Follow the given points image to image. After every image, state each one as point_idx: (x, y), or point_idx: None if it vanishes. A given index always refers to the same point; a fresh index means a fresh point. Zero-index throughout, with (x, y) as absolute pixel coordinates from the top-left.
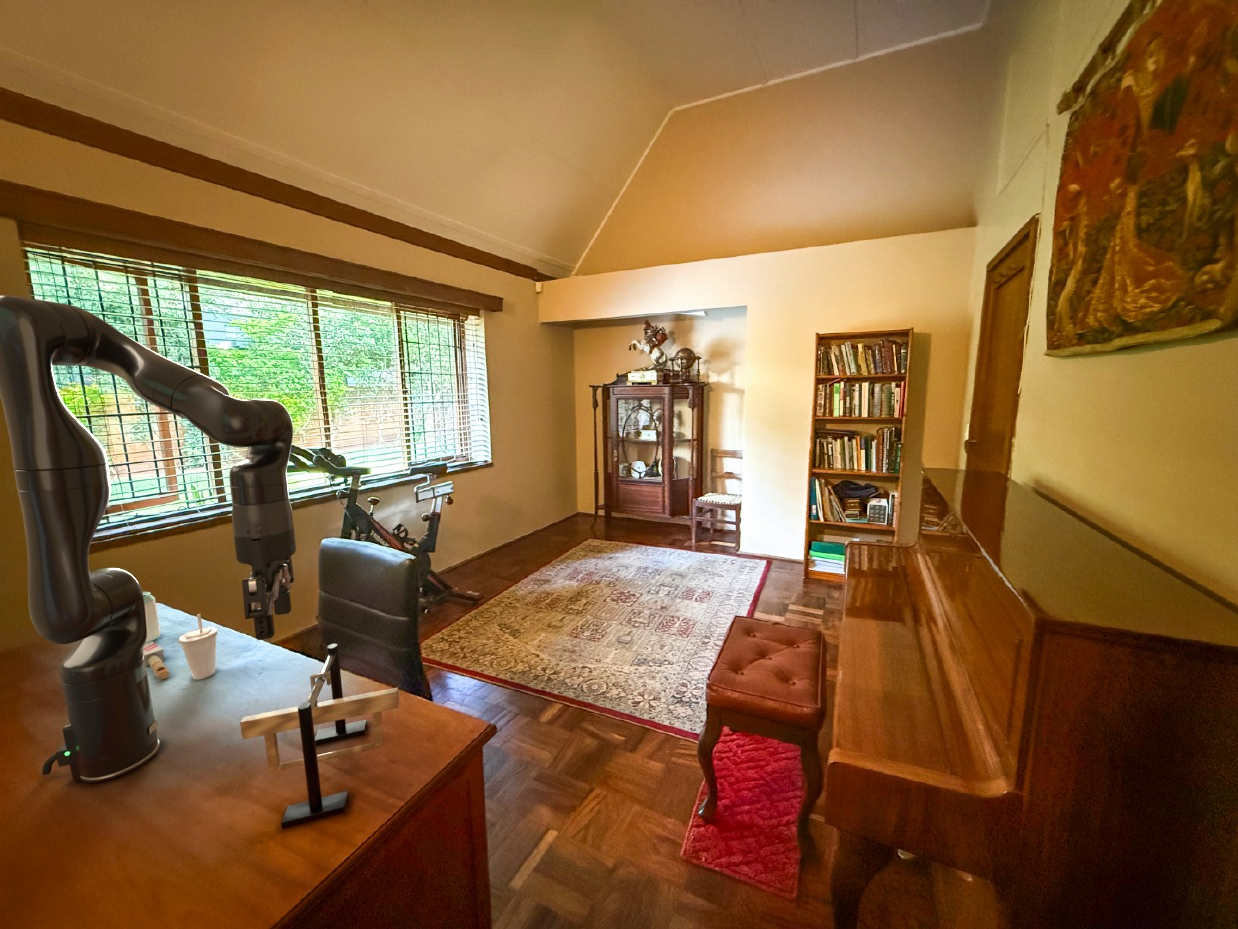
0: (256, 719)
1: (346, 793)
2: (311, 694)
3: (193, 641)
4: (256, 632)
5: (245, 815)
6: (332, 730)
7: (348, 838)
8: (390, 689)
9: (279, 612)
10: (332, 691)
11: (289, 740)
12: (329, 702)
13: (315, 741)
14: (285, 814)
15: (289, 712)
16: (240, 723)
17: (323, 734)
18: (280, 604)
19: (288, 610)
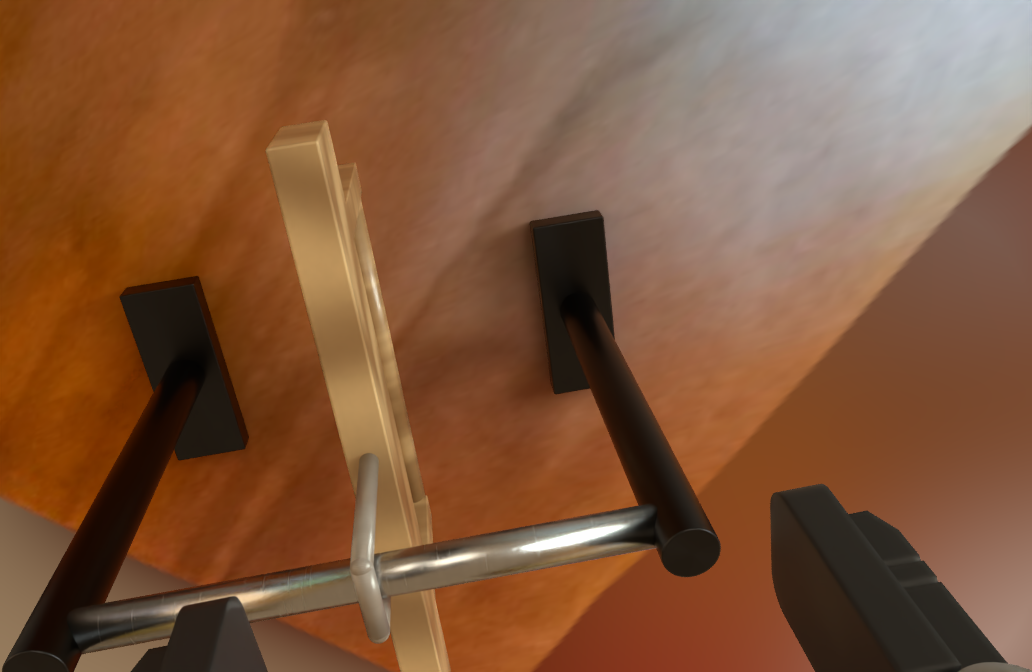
0: (287, 225)
1: (232, 449)
2: None
3: None
4: (169, 665)
5: (193, 129)
6: (581, 278)
7: (87, 491)
8: None
9: (783, 532)
10: (602, 389)
11: (591, 99)
12: (382, 513)
13: (532, 233)
14: (155, 294)
15: (326, 366)
16: (266, 150)
17: (564, 252)
18: (826, 613)
19: (786, 608)
